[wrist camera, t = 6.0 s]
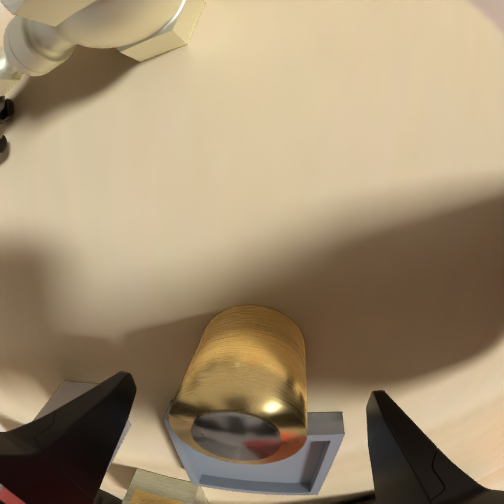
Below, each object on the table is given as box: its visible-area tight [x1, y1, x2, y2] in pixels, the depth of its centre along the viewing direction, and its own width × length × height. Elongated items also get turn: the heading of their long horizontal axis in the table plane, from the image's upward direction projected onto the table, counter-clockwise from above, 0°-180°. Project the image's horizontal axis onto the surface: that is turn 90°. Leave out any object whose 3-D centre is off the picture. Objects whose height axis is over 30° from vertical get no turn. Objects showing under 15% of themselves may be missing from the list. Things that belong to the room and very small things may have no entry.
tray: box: [163, 400, 345, 495], centre depth 14 cm, size 9×9×2 cm
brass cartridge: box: [169, 305, 307, 465], centre depth 10 cm, size 4×4×5 cm
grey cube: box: [33, 381, 131, 472], centre depth 14 cm, size 4×4×4 cm
